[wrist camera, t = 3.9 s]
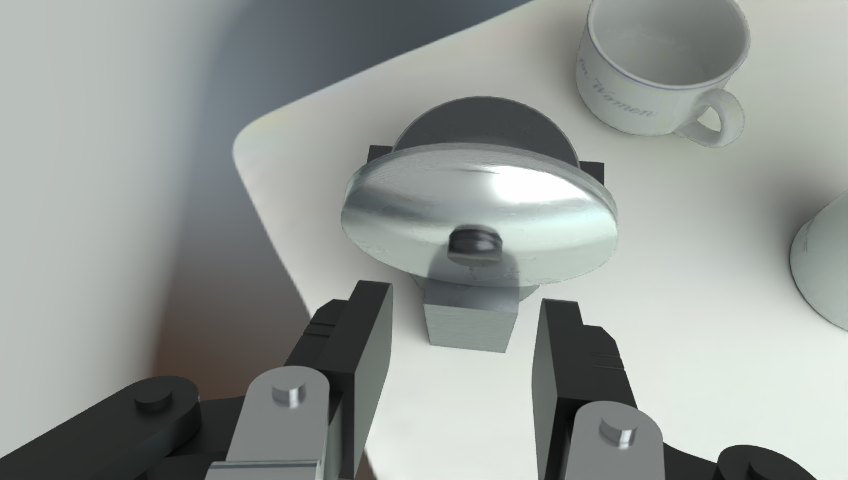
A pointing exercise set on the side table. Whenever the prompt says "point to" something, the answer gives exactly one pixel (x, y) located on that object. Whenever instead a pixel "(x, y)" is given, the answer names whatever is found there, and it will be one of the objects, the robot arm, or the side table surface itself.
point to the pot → (498, 125)
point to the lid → (480, 215)
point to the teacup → (663, 66)
